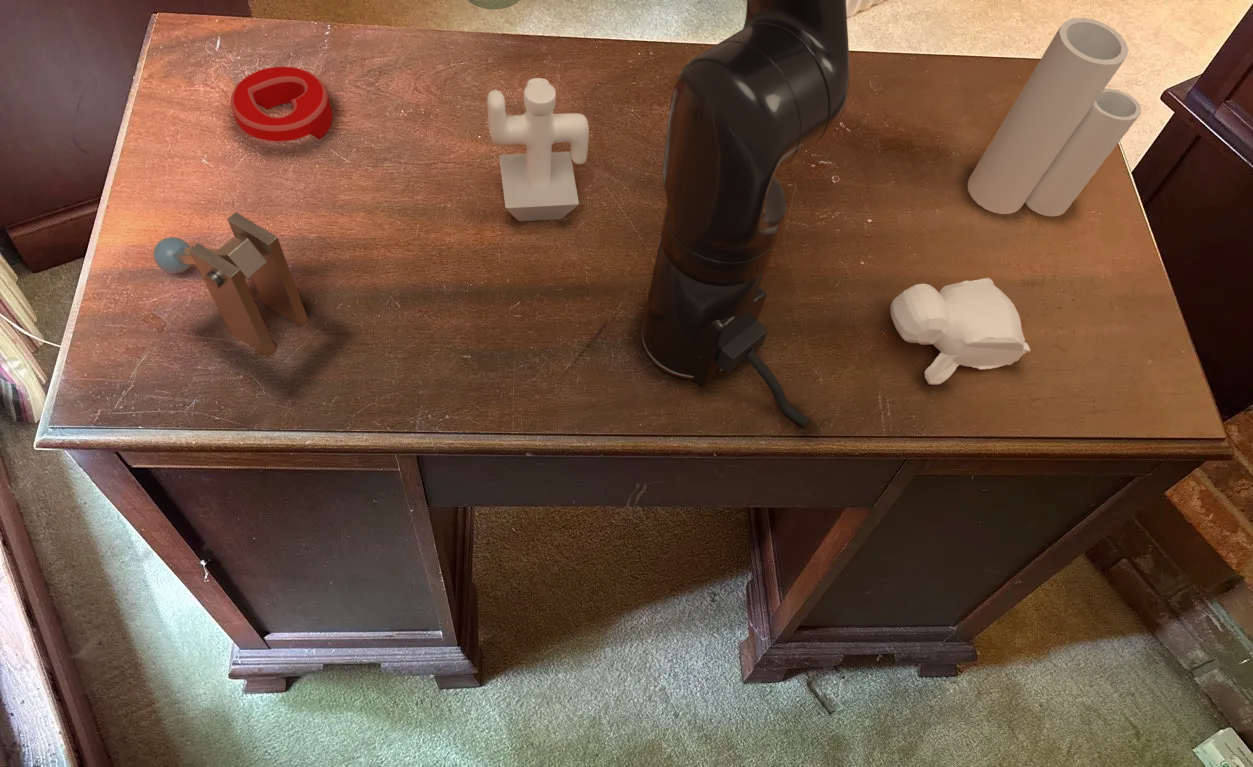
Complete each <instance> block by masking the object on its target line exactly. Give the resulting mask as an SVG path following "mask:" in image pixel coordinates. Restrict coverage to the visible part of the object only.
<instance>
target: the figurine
mask: <svg viewBox="0 0 1253 767" xmlns="http://www.w3.org/2000/svg"><path fill="white" fill-rule="evenodd" d="M556 101H557V91H556V89H555V87H554V86H553V85H552V84H551V83H550V81H549V80H548V79H546V78H542V77H534V78H531V79H529V80H527V82H526V86H525V87H524V90H523V106H524V108H525V112H524V113H522V114H513V115H511V114H510V115H509V114H507V110H506V99H505V96H504V93H503V92H501V91H500V89H492V90H491V91H489V93H488V94H487V98H486V107H487V108H486V109H487V129H488V134H489V137H490V139H491V141H492V142H493V143H494V144H495V145H498V146H515V145H516V146H517V145H523V146H525V152H524V153H504V154H503V153H502V154H501V153H500V154H498V156H499V157H498V158H499V165H500V166H499V167H500V175H501V183H502V192H503V199H504V208H505V210H507V212H509V213H510V215H512V216H513V217H514V218H515V219H516V220H517V221H518V222H534V221H536V222H537V221H552V220H553V221H554V220H562V219H563V218H565V217H566V216H567V215H568V214H569V213H570V212H572V211H573V210H574V209H575V208H577V207H578V206H579V205H580V201H579V196H578V190H577V183H576V179H575V174H574V167H573V163H574V164H577V165H583V164H585V163H586V161H587V158H588V150H589V136H590V126H589V121H588V118H587V116H585V115H584V114H582V113H579V112H570V113H569V112H566V113H554V110H555V108H556ZM563 143H564V144H565V143H569V144H570V151H554V152H553V145H554V144H563ZM572 161H573V162H572Z"/></svg>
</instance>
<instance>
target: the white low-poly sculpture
mask: <svg viewBox="0 0 1253 767" xmlns="http://www.w3.org/2000/svg"><path fill="white" fill-rule="evenodd" d="M889 309H890V318H891V320H892V322H893V325H894V328H895V330H896V331H897V333H898V334H899V336H900V337H901V339H903V341H905V342H906V343H909V344H920V345H921V346H922V345H933V346H934V347H935V349H937V350H938V351H940V352H939V353H938V355H937V356H936V357H935V359H934V360H933V362H932V363H931V364H930V366H929V365H928V367H927V368H926V369H925V370H924V372H923V373H924V379H925V380H926V382H927V384H928V385H932V386H933V385H935V386H936V385H941V384H943V383H944V382H946V381H947V380H948V379H949V378H950V377H951V376H952V375H953V374H954V372H955V371H957V368H958V367H959V366H964V367H972V369H978V370H984V371H985V370H991V369H996V368H997V369H998V368H1000V367H1003V366H1011V365H1013V364H1014V363H1015V362H1016V363H1017V362H1018V361H1019V360H1020V359H1021V357H1022V356H1024V355H1025V354H1027V353H1029V352H1031V348H1030V346H1029V344H1028V342H1025V340H1026V339H1025V335H1024V333H1023V329H1022V322H1021V317H1020V314H1019V312H1018V310H1017V308H1016V305H1015V304H1014V303H1013V301H1011V299H1010V298H1009V297H1008V296H1007V295H1006V293H1004V292H1003V291H1002V290H1001V289H1000V288H998V287H997V286H996V285H995V283H994V281H993V280H992V279H991V278H990V277H984V278H979V279H974V280H962V281H961V282H955V283H952V284H947V285H945V286H943V287H941V289H940V290H939V291H938V290H937V289H936V288H935V287H934V286H932V285H931V284H928V283H918V284H914V285H912V286H910V287H909V288H906V289H904V290H903V291H902V292H901V293H899V294H898V295H897V296H896V297H895V298H894V299H893V300H892V302H891V304H890V307H889Z"/></svg>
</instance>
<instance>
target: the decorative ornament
mask: <svg viewBox="0 0 1253 767" xmlns="http://www.w3.org/2000/svg"><path fill="white" fill-rule="evenodd" d="M283 104H291V108H292V111H291V112H290V113H288V114H287V115H284V116H271V115H269V114H267V113H265V112H264V111H263V110H262V109H261V108H260V107H262V108H263V109H265V110H269V109H272V108H274V107H277V106H280V105H283ZM230 108H231V111H232V114H233V116H234V119H235V121H236V123H237V125H238V126H239V128H240V129H241V130H243V131H244V132H245V133H246V134H247V135H249V136H251V137H254V138H256V139H260V140H263V141H270V142H288V141H293V140H297V139H298V140H299V139H301V138H304V137H306V136H308V135H311V136H312V137H314V138H316V139H317V140H321V139H322V138H323V137H325V135H326V134H327V133H328V131H329V130H330V128H331V126H332V123H333V117H334V116H333V110H332V106H331V101H330V98H329V93H328V90H327V87H326V85H325V84H324V82H323V81H322V80H321V79H320V78H319V77H317V76H316V75H315V74H313V73H311V72H310V71H307V70H305V69H302V68H299V67H294V66H270V67H266V68H261V69H259V70H256V71H254V72H252V73H250V74H248V75H246V76H245V77H244V78H243V79H241V80H240V81H239V82H238V83H237V84H236V85H235V87H234V88H233V91H232V93H231V97H230Z"/></svg>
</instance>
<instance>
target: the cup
mask: <svg viewBox="0 0 1253 767" xmlns="http://www.w3.org/2000/svg"><path fill="white" fill-rule="evenodd" d="M467 1H468V2H469V3H470V4H472V5H473V6H476V7H478V8H481V9H485V10H502V9H507V8H510V7H513V6H514V5H516V4H517V3H519V2H520V0H467Z"/></svg>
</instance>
